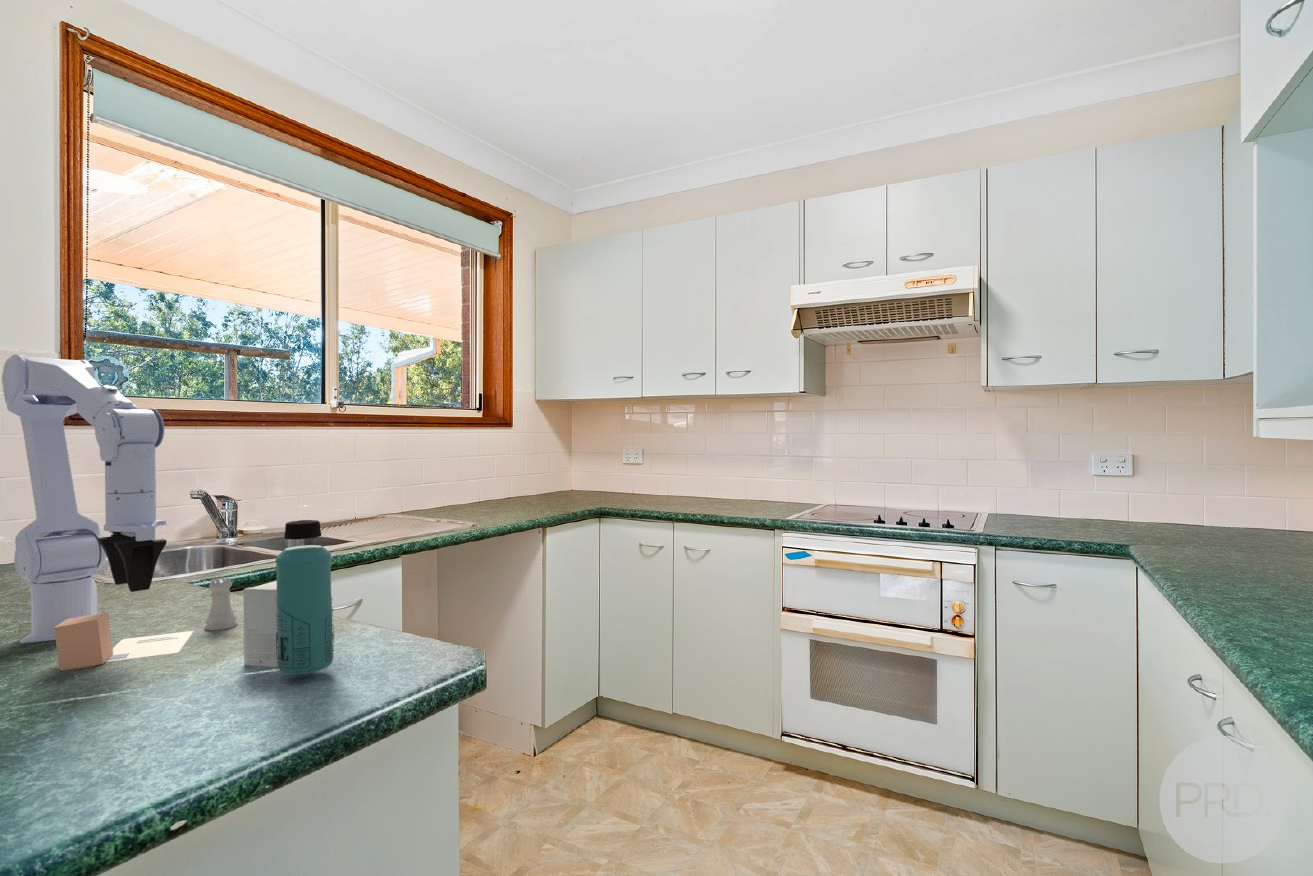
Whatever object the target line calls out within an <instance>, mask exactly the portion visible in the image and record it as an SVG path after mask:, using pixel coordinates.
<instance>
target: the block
mask: <svg viewBox="0 0 1313 876" xmlns="http://www.w3.org/2000/svg"><path fill="white" fill-rule="evenodd" d="M54 631H55V639H56V640H55V643H56V644H55V645H56V653H57V660H58V666H59V671H65V670H75V669H81V668H88V667H89V668H90V667H94V666H99V665H104V664H105V663H107V662H106V661H107V660H108V659H109V658H110V657H111V656H112V655H113V648H114V647H113V640H112V634H111V633H112V632H111V626H110V619H109V612H108V611H107V612H101V613H97V614H94V615H89V616H83V617H77V618H71V619H66V620H65V621H63V622H62V623H60V624H59V625H57V626H56V627H54Z"/></svg>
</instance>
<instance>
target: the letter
mask: <svg viewBox="0 0 1313 876" xmlns="http://www.w3.org/2000/svg"><path fill="white" fill-rule="evenodd" d="M194 632H195V631H194V630H190V631H181V632H172V633H164V634H156V635H149V636H148V635H147V636H139V637H131V638H129V637H128V638H123V639H121V640H120V641H119V642H118V643H117V644H115V646H114V647H113V655H112V656H111V657H110V658H109V659H108V660H107V661H106V662H105V663H110V662H119V661H124V660H132V659H133V660H134V659H141V658H148V657H157V656H163V655H164V656H165V655H166V656H167V655H173V654H178V653H179V652H181V650H182V648H183V647H184V646H185V645H186V643H187V642H188V640H189V639H190V637H192V635H193V633H194Z"/></svg>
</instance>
